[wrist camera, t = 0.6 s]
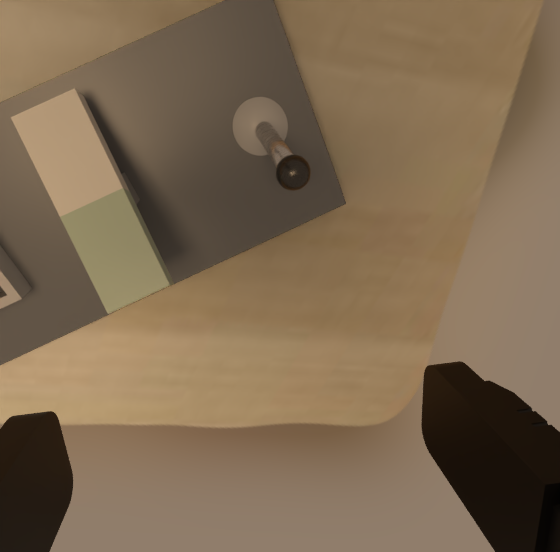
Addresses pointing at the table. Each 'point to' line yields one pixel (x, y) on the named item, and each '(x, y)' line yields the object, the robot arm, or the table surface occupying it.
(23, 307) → the panel
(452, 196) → the table surface
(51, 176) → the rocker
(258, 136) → the lever
